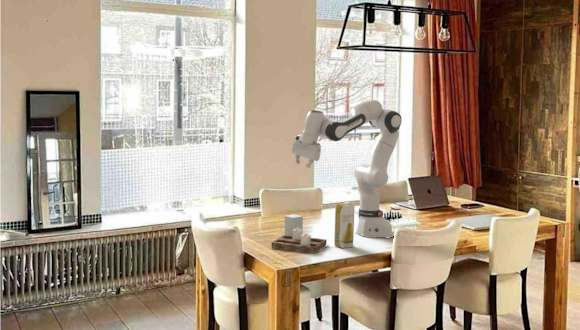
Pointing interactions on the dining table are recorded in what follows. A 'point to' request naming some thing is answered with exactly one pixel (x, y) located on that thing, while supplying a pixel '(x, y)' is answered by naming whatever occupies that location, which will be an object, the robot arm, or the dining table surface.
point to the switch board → (298, 244)
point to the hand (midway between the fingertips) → (302, 165)
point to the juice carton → (344, 225)
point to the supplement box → (293, 223)
